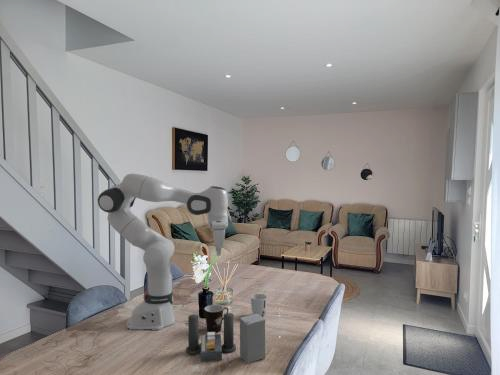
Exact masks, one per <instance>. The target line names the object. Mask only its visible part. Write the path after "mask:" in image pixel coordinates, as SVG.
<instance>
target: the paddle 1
mask: <svg viewBox="0 0 500 375" xmlns="http://www.w3.org/2000/svg"><path fill="white" fill-rule="evenodd" d="M215 334H216V333H215V332H208V331H207V334H206V335H207V337H214V336H215Z"/></svg>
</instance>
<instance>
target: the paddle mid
mask: <svg viewBox="0 0 500 375" xmlns="http://www.w3.org/2000/svg"><path fill="white" fill-rule="evenodd" d="M211 341H214V343H215V336H214V337H207V342H211Z"/></svg>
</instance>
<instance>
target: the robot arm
mask: <svg viewBox="0 0 500 375" xmlns="http://www.w3.org/2000/svg"><path fill="white" fill-rule="evenodd" d="M136 199H139V200H142V201H144V202H145V201H146V202H150V203H151V202H152V203H160V202H161V203H162V202H176V203H180V204H184V205H186V209H187V210H188V212H189V213H190V214H191V215H194V216H201V215H204V214H207V225H208V227H209V228H210V231H212V236H213V242H214V247H215V251H216V256H217V257H219V256H221V255H222V247H224V245H225V238H226V237H225V236H226V229H227V227H228V226H229V215H228V214H229V213H228V206H229V203H228V202H229V201H228V200H229V199H228V192H227V190H226V188H223V187H220V186H215V185H211V186H209V187H208V188H207V189H205V190H203V191H200V192H192V191H188V190H185V189H181V188H177V187H175V186H172V185H171V184H169V183H166V182H165V181H162V180H159V179H157V178H155V177H151V176H148V175H144V174H139V173H128V174H126V175H125V176H124V177H123V179H122V180H121V183H119V184H115V185H112V186H111V187H109V188H108V189H105V190H103V191H102V192H101V193H99V195H98V197H97V204H98V207H99V209H100V210H102V211H103V212H104V213H108V215H107V222H108V223H109V225H111V227H112V228H113V229H114V230H115V231H116V232H117V233H118V234H119V235H120V236H121V237H122V238H124V239H125V240H126V241H127V242H128V243H129V244H131V245H132V246H133V247H136V248H139V249H141V250H142V251H144V252H143V257H142V260H143V263H144V264H145V267H146V273H147V284H148V285H147V286H148V289H147V290H146V291H145V292H144V295H143V301H142V302H141V303H140V304H138V305H137V306H136V307H134V309H133V311H132V313H131V316H130V317H129V318H128V319H127V321H126V326H127V327H126V326H125V327H126V329H128V328H129V329H128V330H144V329H152V330H153V331H159V330H162V329H163V328H165V327H168V326H170V325H173V324H174V323H175V322H176V316H175V312H174V291H173V274H172V273H171V267H170V260H171V258H172V257H173V255H174V254H175V244H174V242H173V241H172V240H171V239H169V238H167V237H165V236H164V235H162V234H161V233H158V232H157V231H155V230H154V229H152V228H151V227H150V226H149V225H147V224H146V223H145V222H143V221H142V220H141V219H140V218H138V216H137V215H135V214H134V213H133V212H132V211H131V207H133V206H134V203H135V201H136ZM152 330H151V331H152Z"/></svg>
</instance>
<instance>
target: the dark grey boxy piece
mask: <svg viewBox="0 0 500 375" xmlns="http://www.w3.org/2000/svg"><path fill="white" fill-rule="evenodd" d="M206 343H207V334H201V339H200V347H201V352H200V362H201V363H202V362H213V361H214V362H216V361H217V362H218V361H223V351H222V345H223V344H222V334H221V333H215V348H212V349H208V350H207V346H206Z"/></svg>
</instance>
